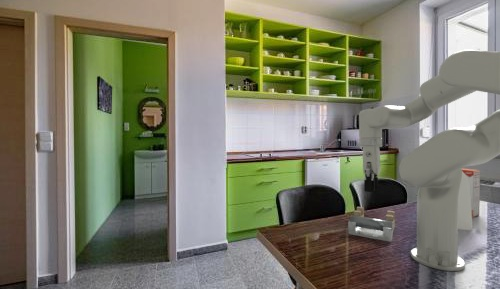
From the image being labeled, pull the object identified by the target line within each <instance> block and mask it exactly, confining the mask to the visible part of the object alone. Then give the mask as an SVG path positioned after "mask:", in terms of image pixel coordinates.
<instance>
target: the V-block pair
mask: <svg viewBox="0 0 500 289" xmlns="http://www.w3.org/2000/svg"><path fill="white" fill-rule="evenodd" d="M347 226H348V227H347V228H348V232H347V234H348V235H353V236H357V237H359V236H360V237H362V238H369V239H374V240H380V241H384V242H390V243H392V240H393V236H394V232H393V229H392V230H391V228H387V227H383V231H377V230H371V229H365V228H359V227H356V222H350V221H349V220H348V225H347Z"/></svg>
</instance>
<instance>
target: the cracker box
mask: <svg viewBox="0 0 500 289" xmlns="http://www.w3.org/2000/svg"><path fill="white" fill-rule="evenodd" d="M462 171H463V173H464V174H465V175H466V177H467V178H468V180H469V183H470V197H471V212H472V218H474V217H477V216H480V207H481V206H480V200H481V199H480V198H481V194H480V192H481V190H480V189H481V188H480V186H481V170H480V169H472V168H464V167H462Z"/></svg>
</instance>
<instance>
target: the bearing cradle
mask: <svg viewBox="0 0 500 289" xmlns="http://www.w3.org/2000/svg"><path fill="white" fill-rule="evenodd" d="M364 213H365V211H364V206H357V207H356V210H353V216H359V217H365V214H364ZM395 214H396V212H395V211H393V210H387V212H386V214H385V220H386V221H392V222H393V233H394V231H395V226H396V223H395V220H396V219H395V217H396V216H395Z"/></svg>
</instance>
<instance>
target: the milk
mask: <svg viewBox="0 0 500 289" xmlns="http://www.w3.org/2000/svg"><path fill="white" fill-rule="evenodd" d="M473 229H474V228H473V217H472V212H471V197H470V183H469V180H468V178H467V177H466V175H465V174H464V173H463V171H462V179H461V184H460V189H459V199H458V230H463V231H464V230H465V231H473Z"/></svg>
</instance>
